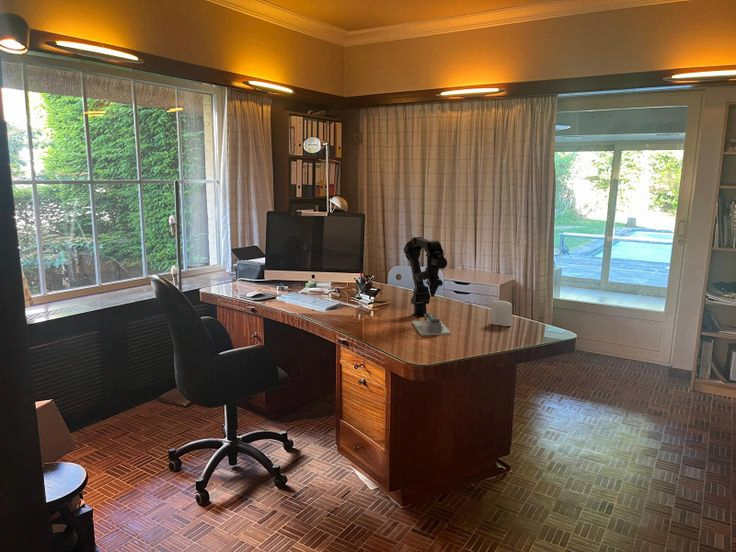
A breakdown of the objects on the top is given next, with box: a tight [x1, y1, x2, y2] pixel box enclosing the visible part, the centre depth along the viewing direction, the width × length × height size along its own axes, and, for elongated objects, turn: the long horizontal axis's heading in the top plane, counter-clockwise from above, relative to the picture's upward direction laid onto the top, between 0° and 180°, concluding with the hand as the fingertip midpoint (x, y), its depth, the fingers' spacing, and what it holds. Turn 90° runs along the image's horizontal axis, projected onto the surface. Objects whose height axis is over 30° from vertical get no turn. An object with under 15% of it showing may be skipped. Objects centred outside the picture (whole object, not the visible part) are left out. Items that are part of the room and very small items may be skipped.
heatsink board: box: [412, 313, 452, 336], centre depth 259 cm, size 22×14×6 cm, turn 6°
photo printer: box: [490, 300, 513, 327], centre depth 263 cm, size 10×4×12 cm, turn 56°
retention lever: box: [426, 314, 441, 323], centre depth 255 cm, size 2×4×14 cm
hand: (432, 296), depth 270 cm, fingers closed
